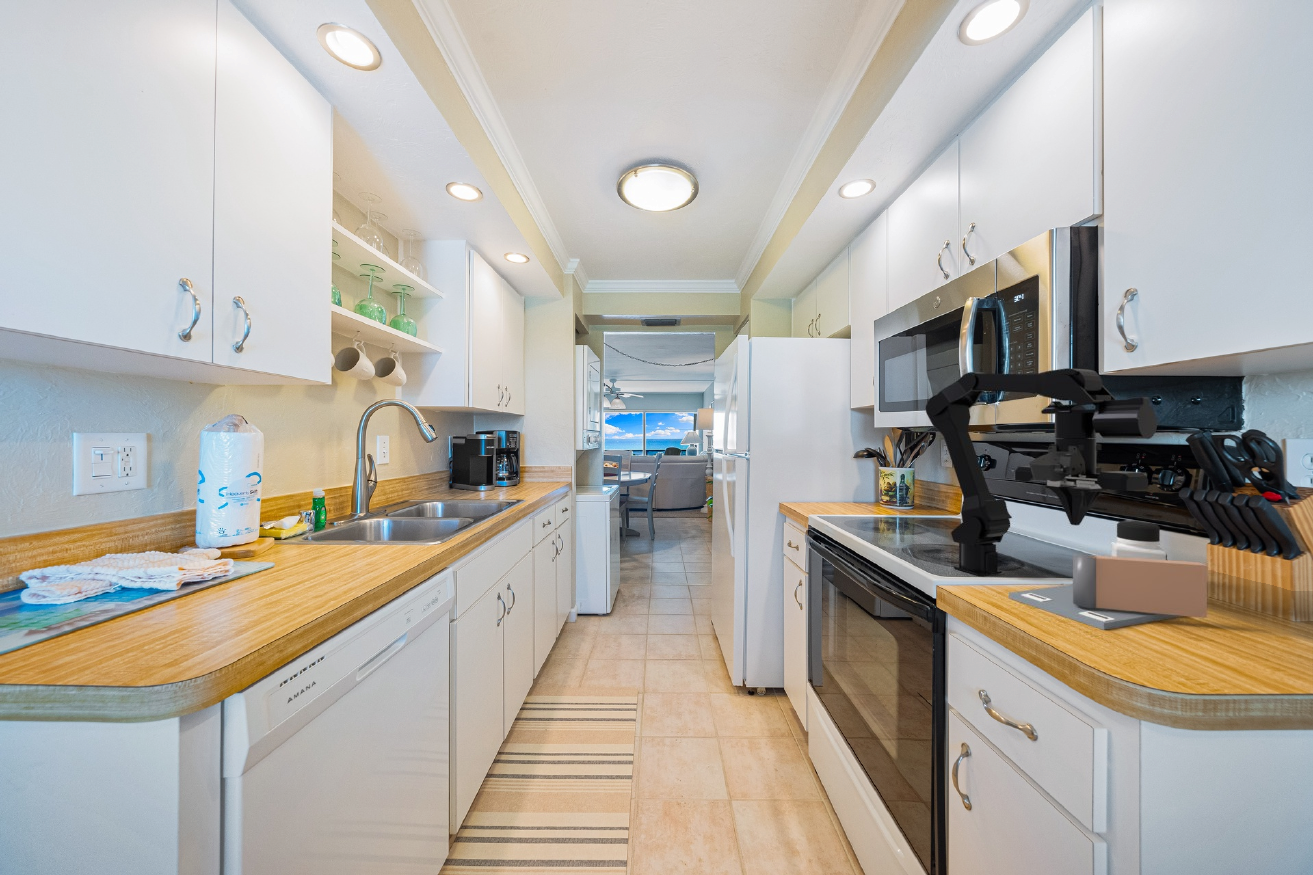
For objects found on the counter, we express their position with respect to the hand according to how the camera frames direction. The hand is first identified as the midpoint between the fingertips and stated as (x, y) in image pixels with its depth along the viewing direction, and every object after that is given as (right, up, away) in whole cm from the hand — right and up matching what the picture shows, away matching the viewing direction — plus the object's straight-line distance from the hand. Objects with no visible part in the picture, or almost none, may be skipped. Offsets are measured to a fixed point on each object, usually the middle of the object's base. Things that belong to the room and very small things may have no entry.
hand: (1075, 524), depth 90 cm
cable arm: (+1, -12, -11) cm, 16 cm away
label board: (-1, -13, -5) cm, 14 cm away
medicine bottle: (+19, -13, +8) cm, 24 cm away
